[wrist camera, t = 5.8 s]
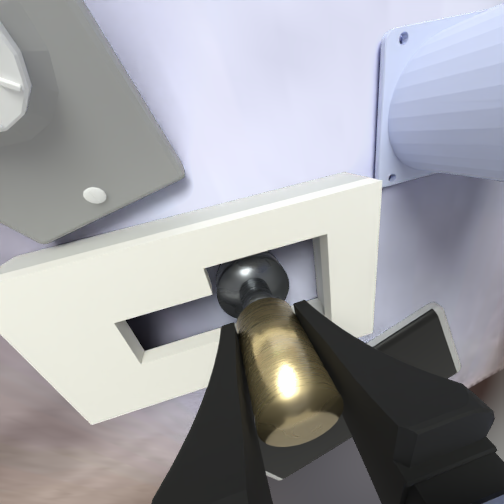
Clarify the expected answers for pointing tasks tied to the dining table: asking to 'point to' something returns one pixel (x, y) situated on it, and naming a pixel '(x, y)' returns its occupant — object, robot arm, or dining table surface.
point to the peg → (276, 354)
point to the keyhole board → (179, 289)
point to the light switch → (70, 123)
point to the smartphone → (397, 346)
